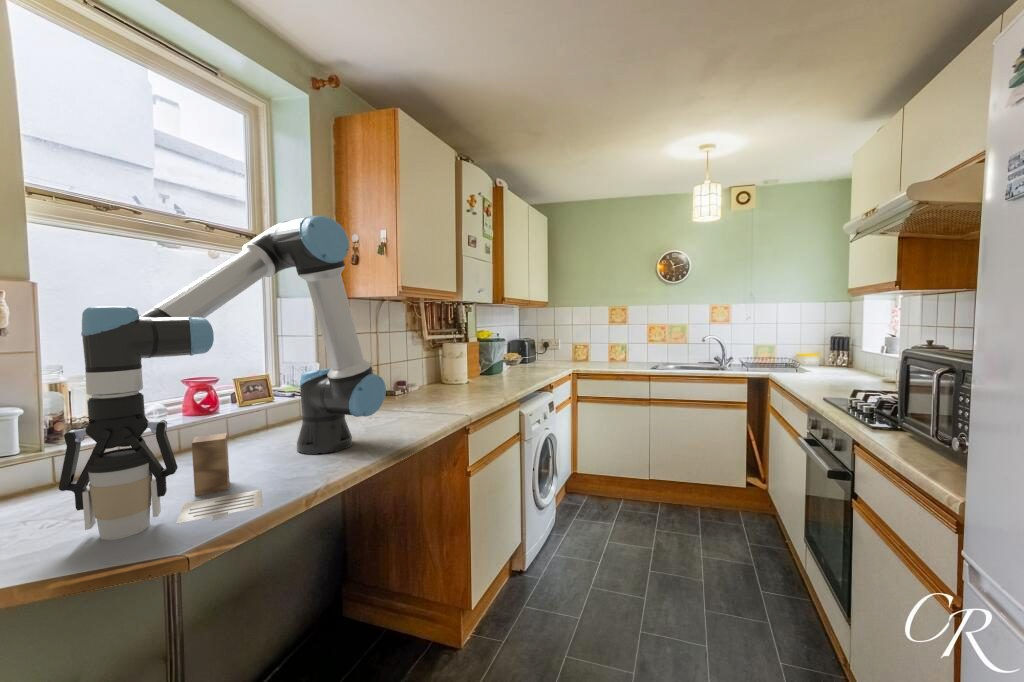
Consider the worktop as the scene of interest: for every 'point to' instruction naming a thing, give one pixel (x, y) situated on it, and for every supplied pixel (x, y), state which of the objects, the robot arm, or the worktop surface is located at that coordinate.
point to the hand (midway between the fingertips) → (124, 520)
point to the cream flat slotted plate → (220, 506)
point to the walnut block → (210, 464)
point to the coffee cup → (120, 493)
